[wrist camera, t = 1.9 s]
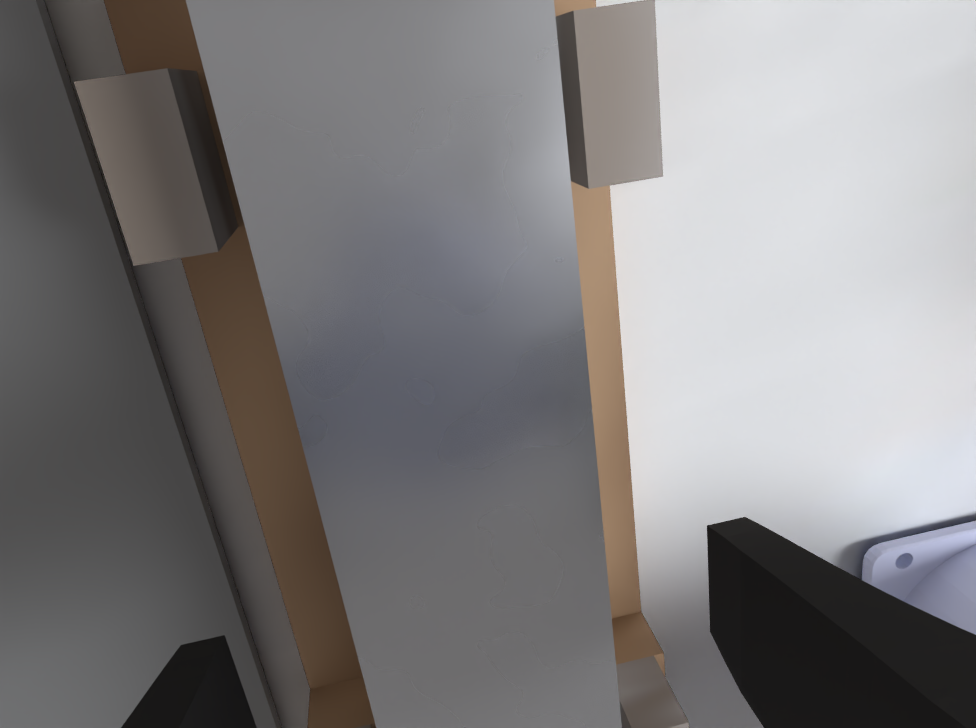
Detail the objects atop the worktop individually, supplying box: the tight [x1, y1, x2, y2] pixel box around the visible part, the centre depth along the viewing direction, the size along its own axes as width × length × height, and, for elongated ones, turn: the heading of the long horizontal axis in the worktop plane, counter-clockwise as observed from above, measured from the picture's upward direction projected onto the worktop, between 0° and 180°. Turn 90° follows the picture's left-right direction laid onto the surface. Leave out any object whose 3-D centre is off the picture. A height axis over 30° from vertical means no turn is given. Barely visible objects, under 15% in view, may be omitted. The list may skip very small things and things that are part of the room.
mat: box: [0, 0, 282, 728], centre depth 16 cm, size 8×24×1 cm, turn 8°
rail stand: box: [74, 0, 689, 728], centre depth 15 cm, size 8×20×4 cm, turn 8°
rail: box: [186, 0, 622, 728], centre depth 13 cm, size 4×22×4 cm, turn 8°
